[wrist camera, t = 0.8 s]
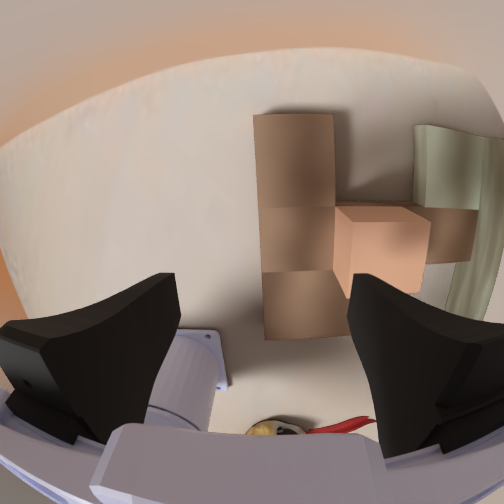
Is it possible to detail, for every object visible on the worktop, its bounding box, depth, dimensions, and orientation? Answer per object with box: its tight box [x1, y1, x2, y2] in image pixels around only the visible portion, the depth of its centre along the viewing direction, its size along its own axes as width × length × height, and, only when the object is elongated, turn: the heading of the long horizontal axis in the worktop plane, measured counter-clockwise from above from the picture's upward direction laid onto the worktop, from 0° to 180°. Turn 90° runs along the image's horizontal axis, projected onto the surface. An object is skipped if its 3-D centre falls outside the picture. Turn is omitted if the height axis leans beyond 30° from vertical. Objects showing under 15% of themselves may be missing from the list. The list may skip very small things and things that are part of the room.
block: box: [333, 206, 431, 299], centre depth 16 cm, size 5×4×4 cm
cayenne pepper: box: [305, 416, 377, 434], centre depth 29 cm, size 12×5×2 cm, turn 84°
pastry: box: [245, 420, 306, 435], centre depth 28 cm, size 9×7×4 cm
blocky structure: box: [253, 114, 504, 340], centre depth 17 cm, size 19×16×5 cm
